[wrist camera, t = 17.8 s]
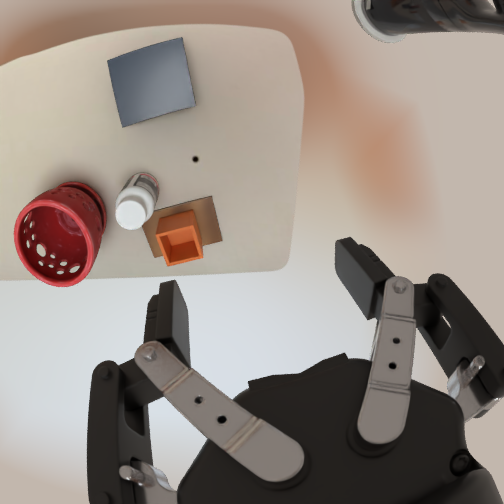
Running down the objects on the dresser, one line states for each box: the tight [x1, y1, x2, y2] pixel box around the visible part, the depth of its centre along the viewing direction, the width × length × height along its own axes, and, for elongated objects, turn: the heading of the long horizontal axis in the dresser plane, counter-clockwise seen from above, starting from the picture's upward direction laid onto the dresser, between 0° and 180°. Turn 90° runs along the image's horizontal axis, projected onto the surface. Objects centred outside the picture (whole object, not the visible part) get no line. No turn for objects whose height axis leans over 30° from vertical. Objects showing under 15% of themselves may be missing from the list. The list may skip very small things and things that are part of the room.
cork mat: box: [142, 196, 222, 258], centre depth 44 cm, size 12×8×1 cm, turn 99°
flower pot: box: [14, 182, 106, 287], centre depth 33 cm, size 13×13×12 cm
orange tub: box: [155, 209, 203, 266], centre depth 41 cm, size 6×6×6 cm
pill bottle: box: [115, 173, 159, 230], centre depth 35 cm, size 5×5×10 cm
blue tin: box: [107, 37, 196, 128], centre depth 29 cm, size 9×9×6 cm
